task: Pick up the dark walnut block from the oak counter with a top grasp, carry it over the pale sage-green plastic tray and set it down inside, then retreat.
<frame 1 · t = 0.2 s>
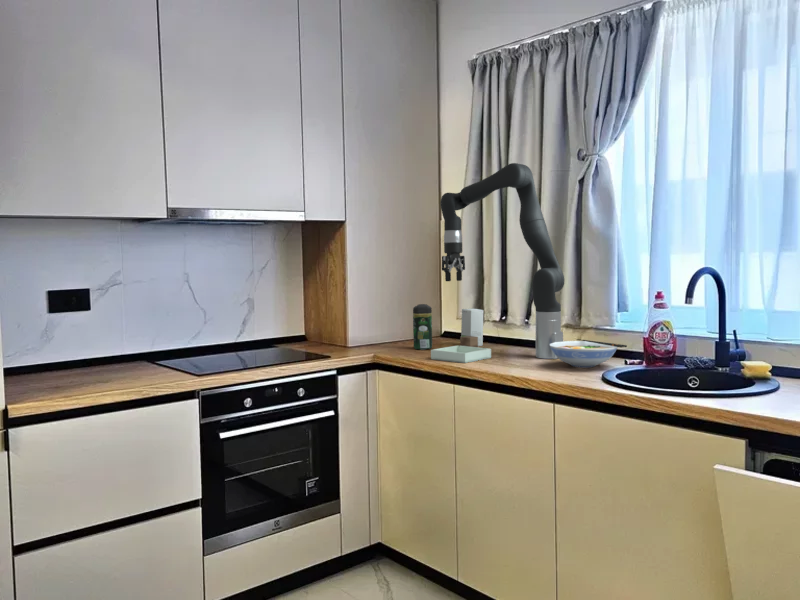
hand: (453, 281, 284), 28 cm above the counter, tool pointing down, fingers open, 8 cm apart
coffee jar: (422, 349, 286), on the counter
skincare box: (472, 345, 295), on the counter
ramen bowl: (583, 366, 235), on the counter
walnut block: (469, 351, 275), on the counter
sage tray: (461, 358, 256), on the counter
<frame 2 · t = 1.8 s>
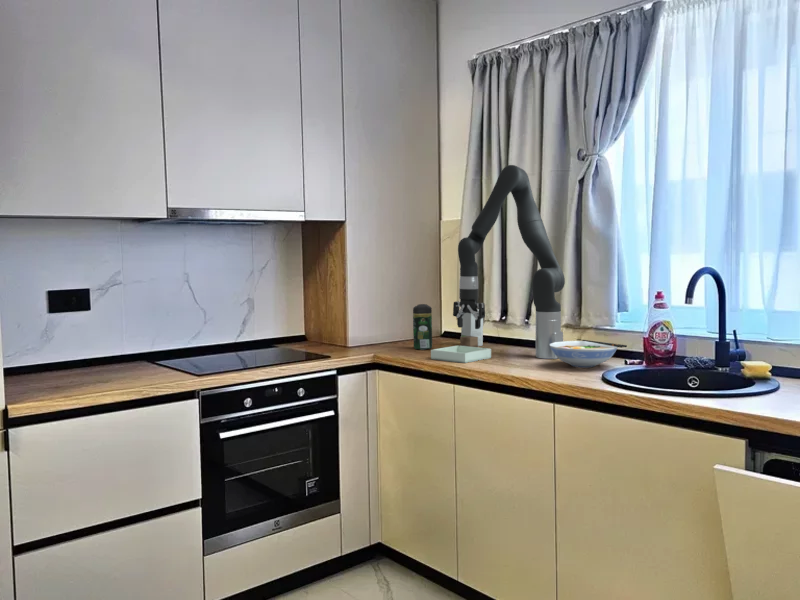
hand: (468, 328, 275), 9 cm above the counter, tool pointing down, fingers open, 8 cm apart
nothing on the counter moved.
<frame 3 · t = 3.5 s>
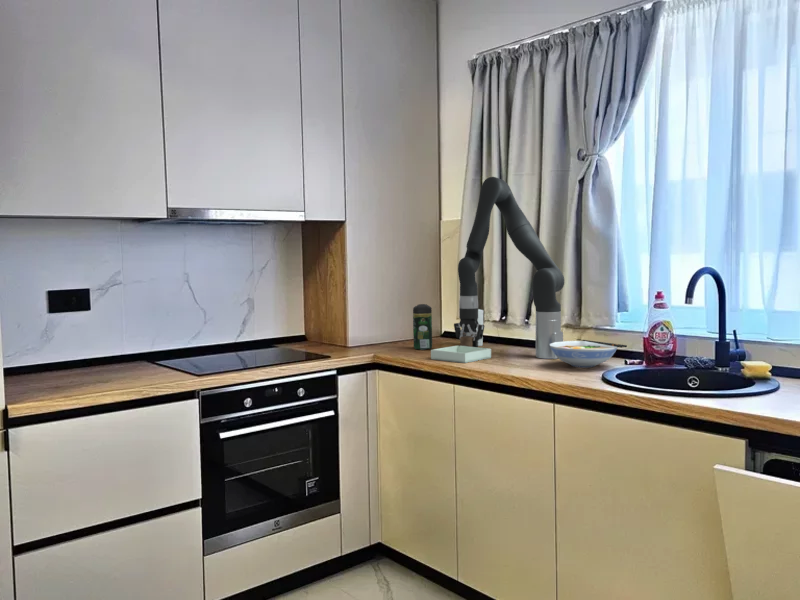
hand: (469, 349, 275), 1 cm above the counter, tool pointing down, fingers closed on walnut block, 5 cm apart
walnut block: (469, 351, 275), on the counter, touching gripper
everything else where it was.
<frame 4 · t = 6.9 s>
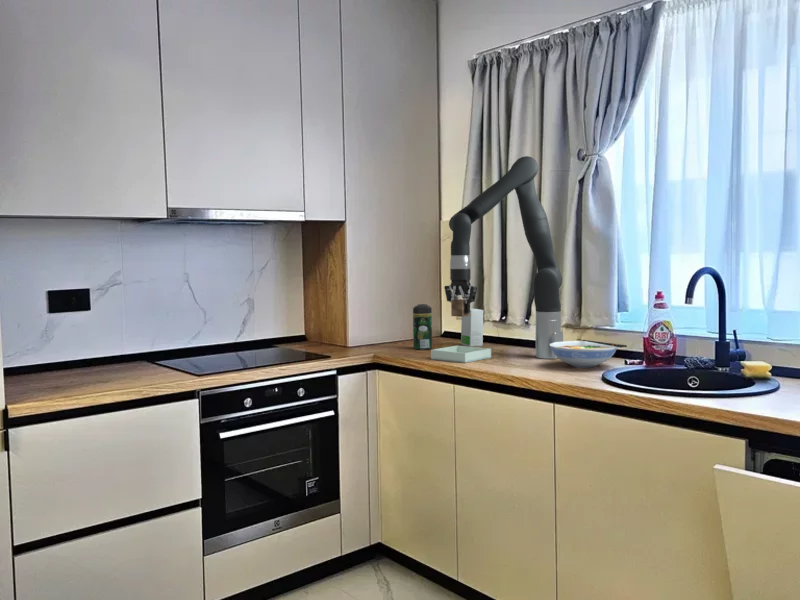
hand: (460, 313, 255), 17 cm above the counter, tool pointing down, fingers closed on walnut block, 5 cm apart
walnut block: (460, 315, 255), point 16 cm above the counter, touching gripper
everything else where it was.
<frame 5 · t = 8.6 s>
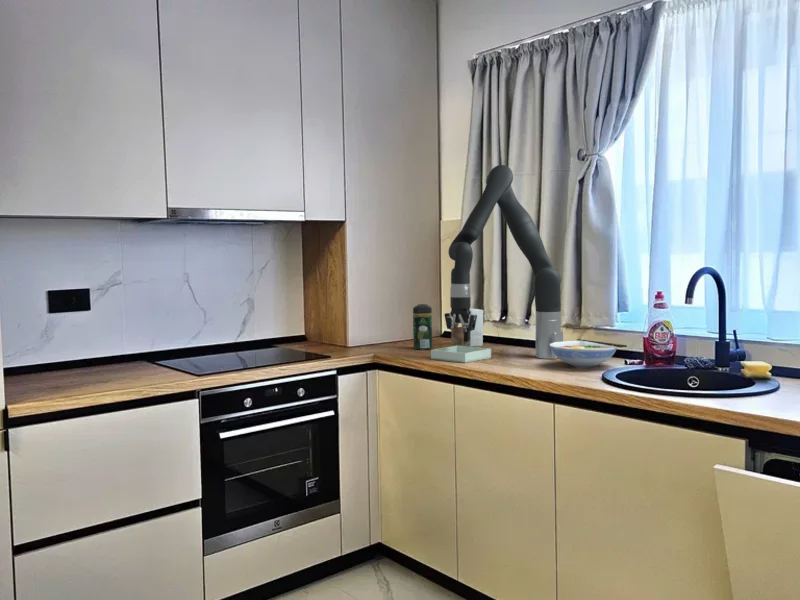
hand: (460, 341, 256), 7 cm above the counter, tool pointing down, fingers closed on walnut block, 5 cm apart
walnut block: (460, 343, 256), point 6 cm above the counter, touching gripper
everything else where it was.
when the fingers open (3 cm above the counter, at t = 10.2 s): walnut block drops 1 cm, resting on sage tray.
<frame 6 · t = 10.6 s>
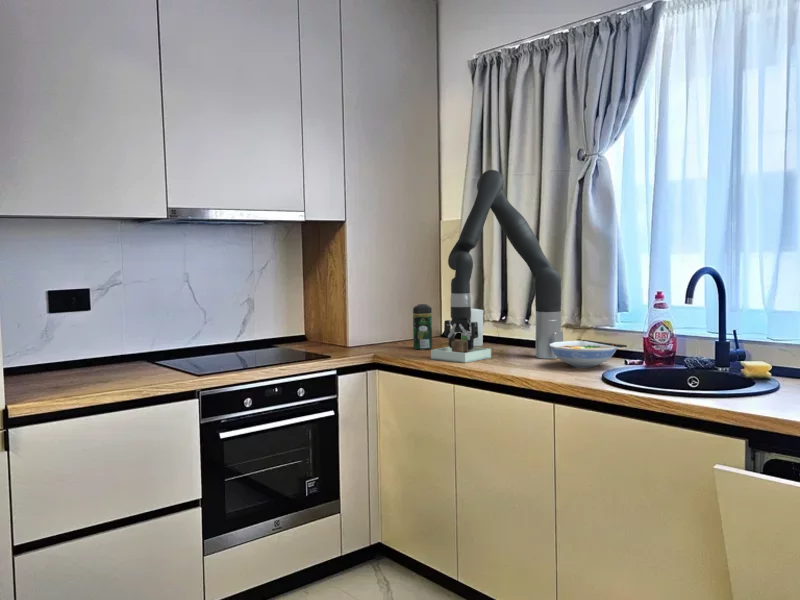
hand: (461, 348, 256), 4 cm above the counter, tool pointing down, fingers open, 8 cm apart
walnut block: (461, 356, 256), point 1 cm above the counter, touching sage tray
everything else where it was.
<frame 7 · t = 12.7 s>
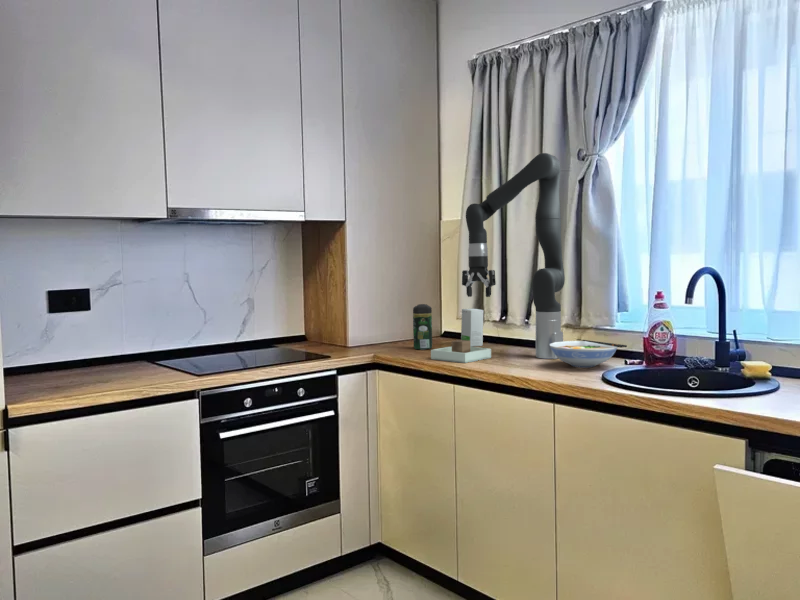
hand: (478, 296, 269), 22 cm above the counter, tool pointing down, fingers open, 8 cm apart
nothing on the counter moved.
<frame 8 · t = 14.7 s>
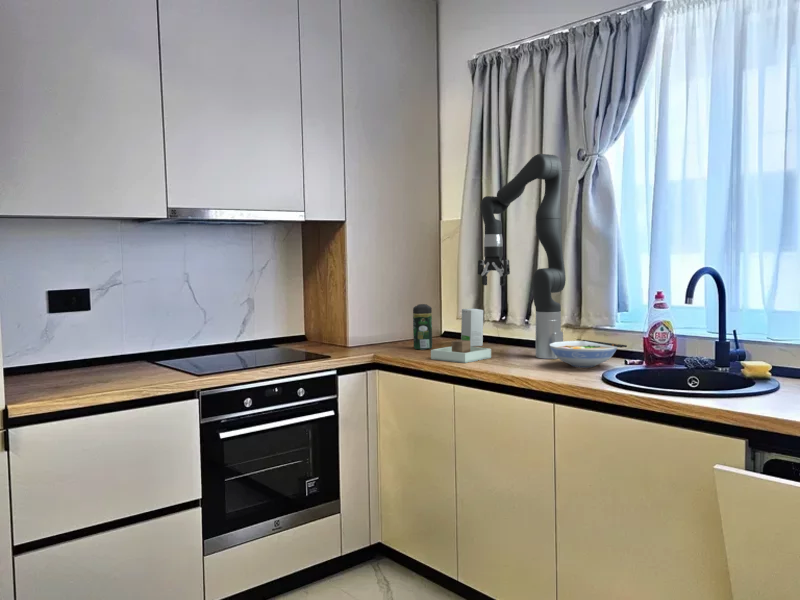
hand: (493, 285, 281), 26 cm above the counter, tool pointing down, fingers open, 8 cm apart
nothing on the counter moved.
at the end: walnut block inside the target area on the sage tray (0.0 cm from its centre), point 0.6 cm above the sage tray's base; walnut block tilted 0°; the gripper is holding nothing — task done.
